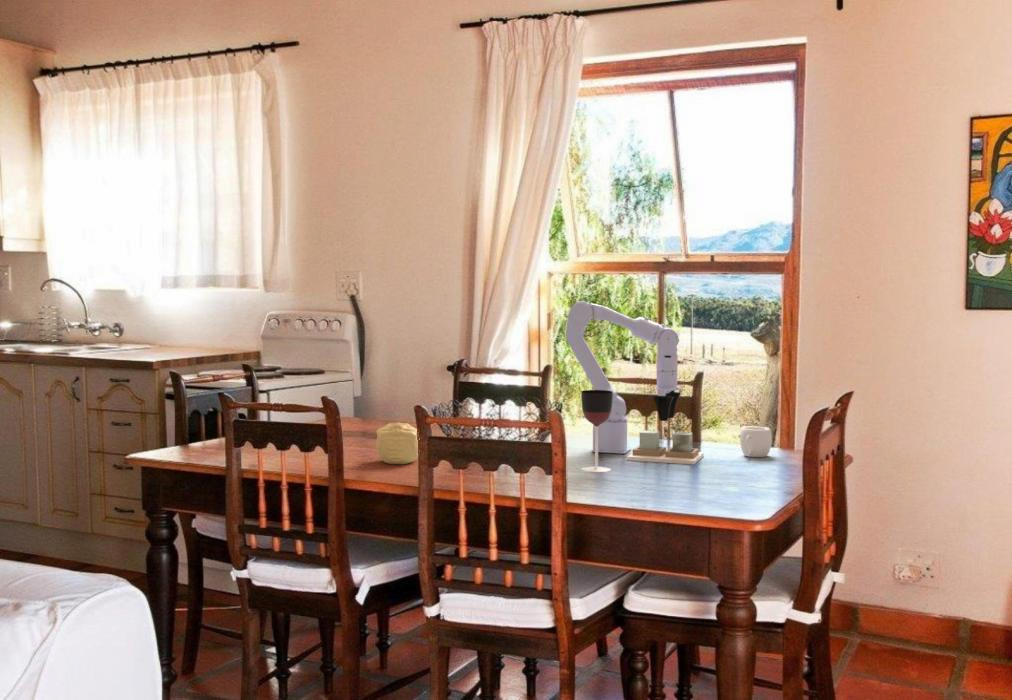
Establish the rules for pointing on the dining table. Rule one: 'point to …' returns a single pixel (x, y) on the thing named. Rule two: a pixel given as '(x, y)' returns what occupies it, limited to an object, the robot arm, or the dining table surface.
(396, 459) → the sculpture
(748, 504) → the dining table surface
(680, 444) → the green block
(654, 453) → the puzzle board
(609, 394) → the wineglass
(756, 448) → the mug
